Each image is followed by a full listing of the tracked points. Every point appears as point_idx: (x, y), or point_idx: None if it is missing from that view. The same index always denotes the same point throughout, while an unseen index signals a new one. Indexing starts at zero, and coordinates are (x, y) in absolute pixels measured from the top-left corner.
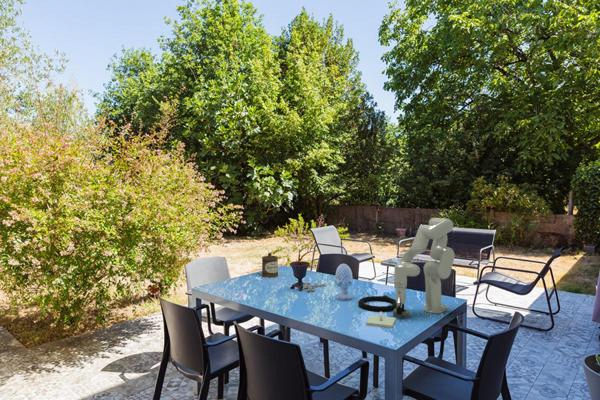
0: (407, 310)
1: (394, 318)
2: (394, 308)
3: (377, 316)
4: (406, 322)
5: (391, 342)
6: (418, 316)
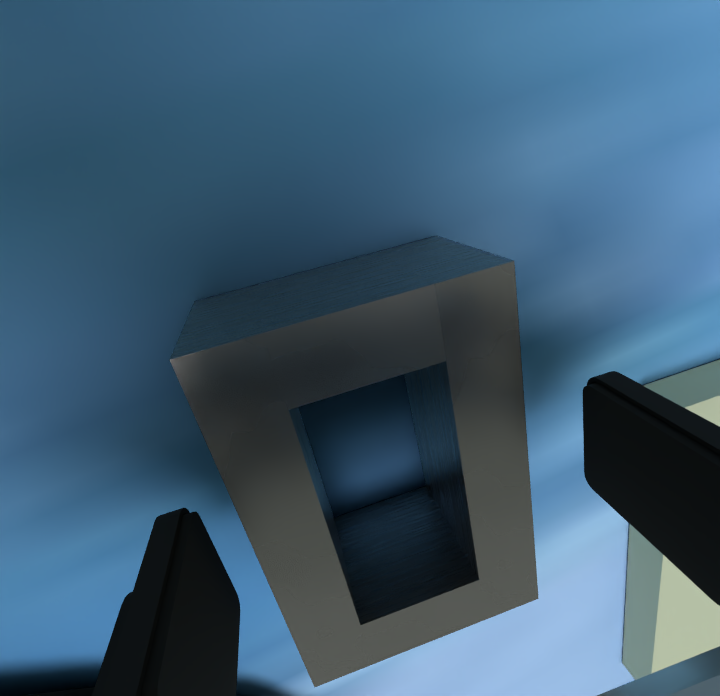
0: (288, 376)
1: (713, 413)
2: (324, 682)
3: (679, 627)
4: (695, 171)
5: None
6: (88, 16)
